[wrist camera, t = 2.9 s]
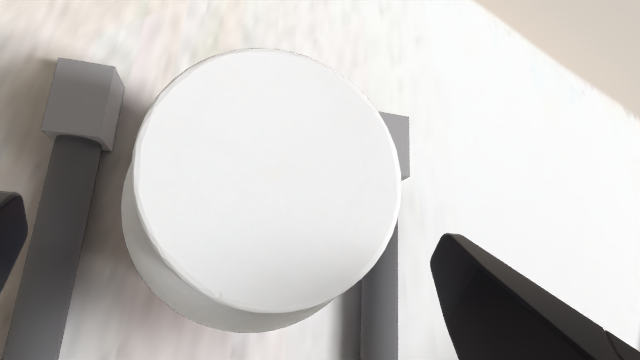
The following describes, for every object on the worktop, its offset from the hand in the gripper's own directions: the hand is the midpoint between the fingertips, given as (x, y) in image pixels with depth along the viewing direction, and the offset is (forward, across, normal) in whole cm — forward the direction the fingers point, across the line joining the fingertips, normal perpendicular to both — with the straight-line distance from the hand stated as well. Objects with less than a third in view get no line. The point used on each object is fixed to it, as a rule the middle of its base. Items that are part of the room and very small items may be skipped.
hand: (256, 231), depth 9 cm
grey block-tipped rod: (+6, -7, +6) cm, 11 cm away
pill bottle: (+7, 0, +6) cm, 9 cm away
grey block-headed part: (+6, +6, +6) cm, 11 cm away
